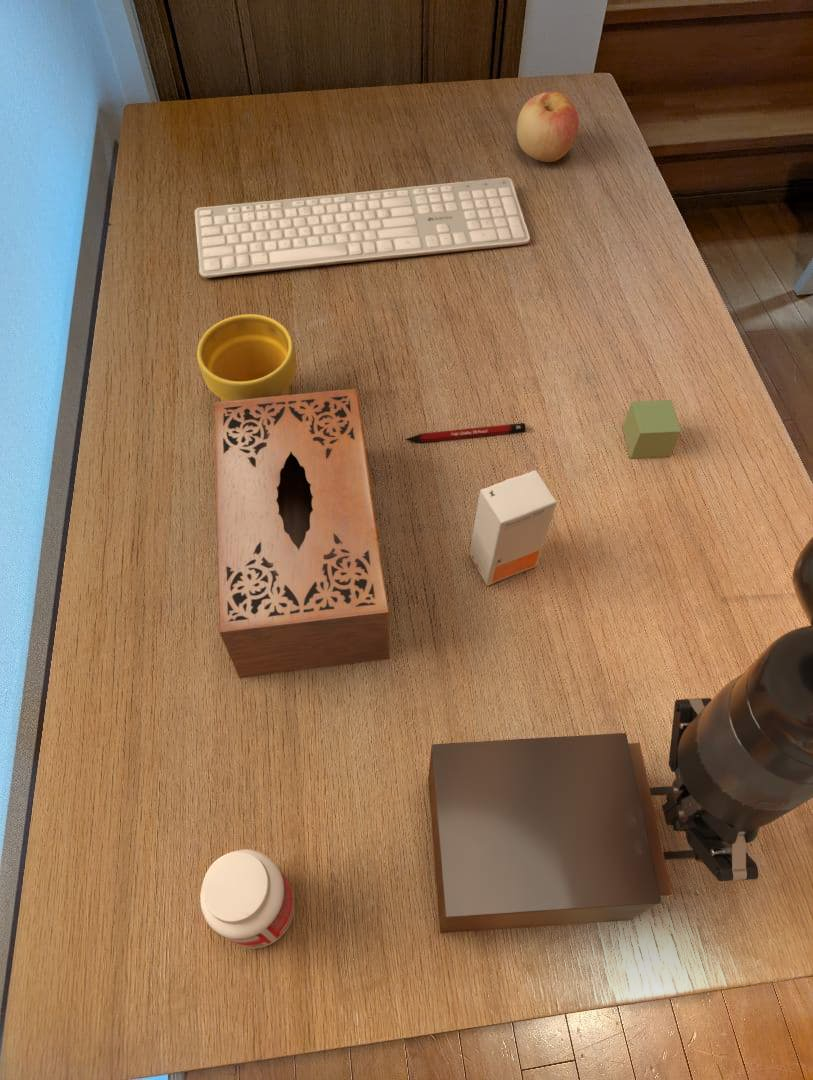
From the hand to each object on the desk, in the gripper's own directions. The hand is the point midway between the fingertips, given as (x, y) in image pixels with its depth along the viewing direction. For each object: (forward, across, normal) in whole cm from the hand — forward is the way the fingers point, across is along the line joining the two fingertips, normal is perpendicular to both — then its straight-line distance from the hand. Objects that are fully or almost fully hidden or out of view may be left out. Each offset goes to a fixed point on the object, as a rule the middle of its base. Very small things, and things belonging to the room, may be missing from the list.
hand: (676, 815), depth 64 cm
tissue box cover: (+8, +30, +30) cm, 43 cm away
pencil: (+8, +45, +12) cm, 47 cm away
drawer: (+7, 0, +7) cm, 10 cm away
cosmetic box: (+8, +28, +9) cm, 31 cm away
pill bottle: (+8, -4, +33) cm, 35 cm away
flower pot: (+9, +50, +35) cm, 62 cm away
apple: (+8, +97, -5) cm, 98 cm away
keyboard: (+8, +81, +22) cm, 84 cm away
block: (+8, +43, -9) cm, 44 cm away
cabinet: (+8, 0, +11) cm, 13 cm away
